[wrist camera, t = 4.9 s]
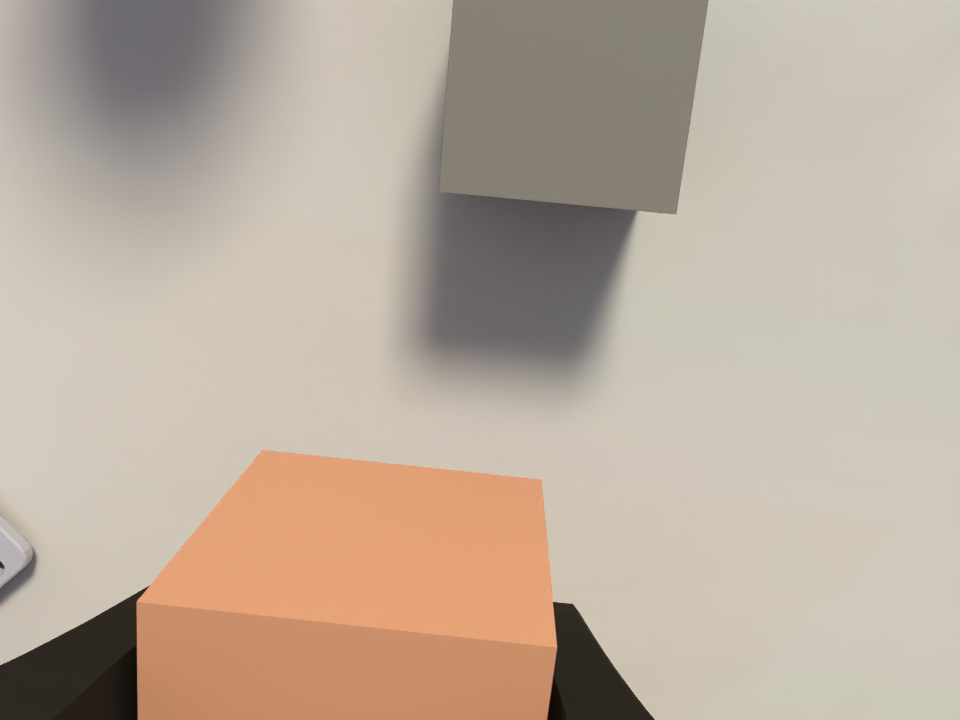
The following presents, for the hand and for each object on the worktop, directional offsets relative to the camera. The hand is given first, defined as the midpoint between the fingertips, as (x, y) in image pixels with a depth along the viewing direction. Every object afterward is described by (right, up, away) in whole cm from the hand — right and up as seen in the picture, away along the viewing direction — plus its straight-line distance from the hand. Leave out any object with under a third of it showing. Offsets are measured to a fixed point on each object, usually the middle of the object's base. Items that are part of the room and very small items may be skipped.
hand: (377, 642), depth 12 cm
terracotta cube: (0, 0, +1) cm, 2 cm away
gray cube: (+3, +10, +7) cm, 13 cm away
